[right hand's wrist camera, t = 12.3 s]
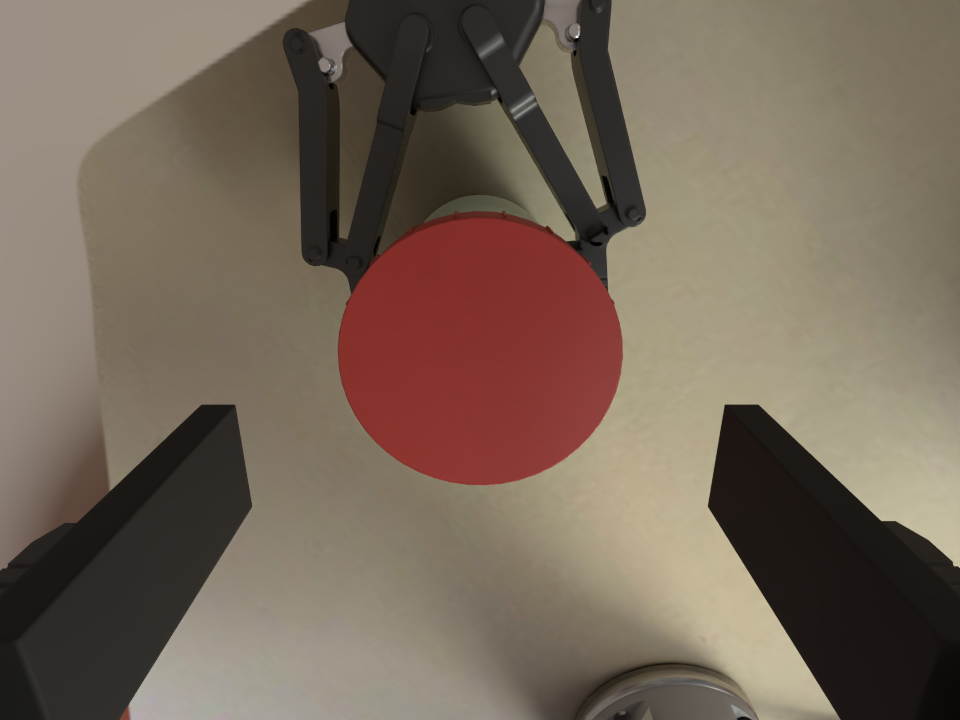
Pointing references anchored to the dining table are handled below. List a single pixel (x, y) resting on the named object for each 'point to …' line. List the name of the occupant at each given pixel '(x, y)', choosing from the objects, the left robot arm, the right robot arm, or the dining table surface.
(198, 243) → the dining table surface
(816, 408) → the dining table surface
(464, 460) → the lid
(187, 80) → the dining table surface
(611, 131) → the left robot arm
